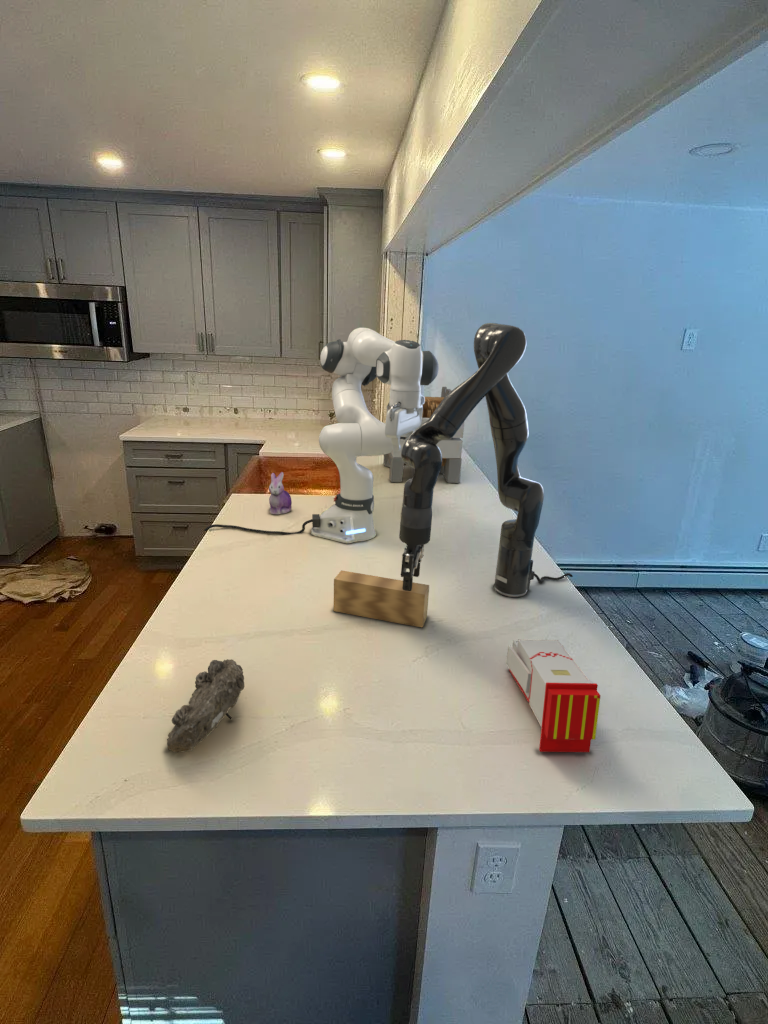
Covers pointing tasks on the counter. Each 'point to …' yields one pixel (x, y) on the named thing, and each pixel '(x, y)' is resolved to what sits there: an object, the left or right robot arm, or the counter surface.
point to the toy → (556, 694)
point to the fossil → (206, 705)
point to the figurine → (278, 496)
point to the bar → (380, 598)
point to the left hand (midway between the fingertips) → (402, 447)
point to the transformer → (447, 447)
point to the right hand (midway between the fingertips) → (411, 582)
